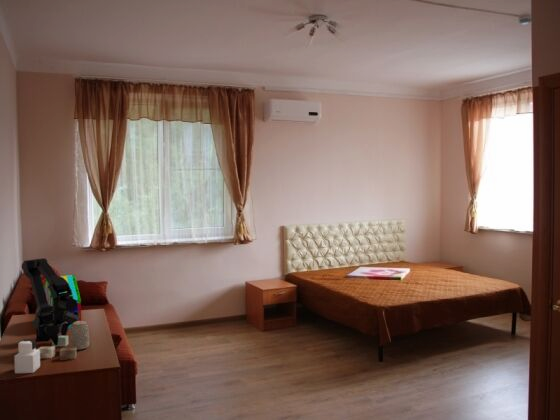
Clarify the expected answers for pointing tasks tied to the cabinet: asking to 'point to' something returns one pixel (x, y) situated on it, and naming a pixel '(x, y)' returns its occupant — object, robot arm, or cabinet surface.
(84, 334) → the carving
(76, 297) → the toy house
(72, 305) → the robot arm
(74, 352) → the walnut brick
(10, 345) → the cabinet surface
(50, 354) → the birch brick
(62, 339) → the sage brick
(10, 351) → the cabinet surface
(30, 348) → the medicine bottle
